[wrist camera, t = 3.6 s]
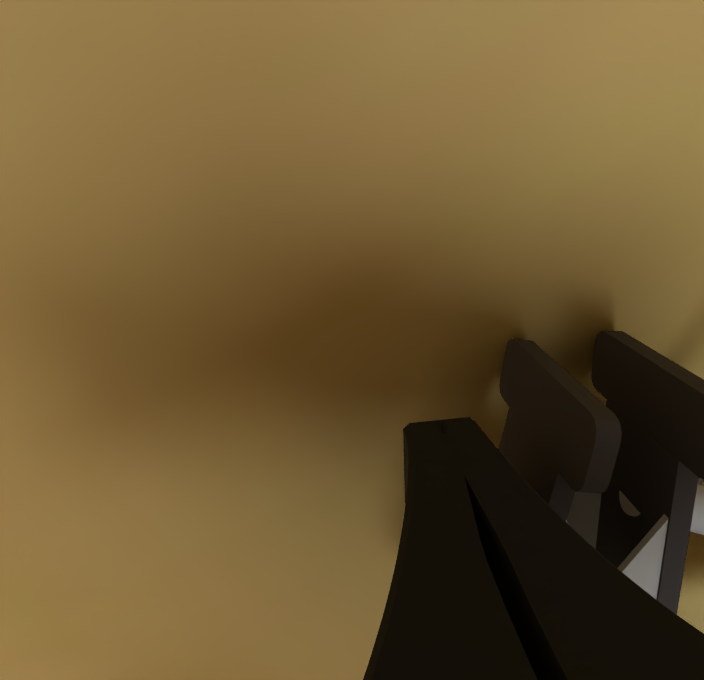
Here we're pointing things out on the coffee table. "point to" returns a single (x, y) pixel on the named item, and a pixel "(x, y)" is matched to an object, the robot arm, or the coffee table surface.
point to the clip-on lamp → (613, 452)
